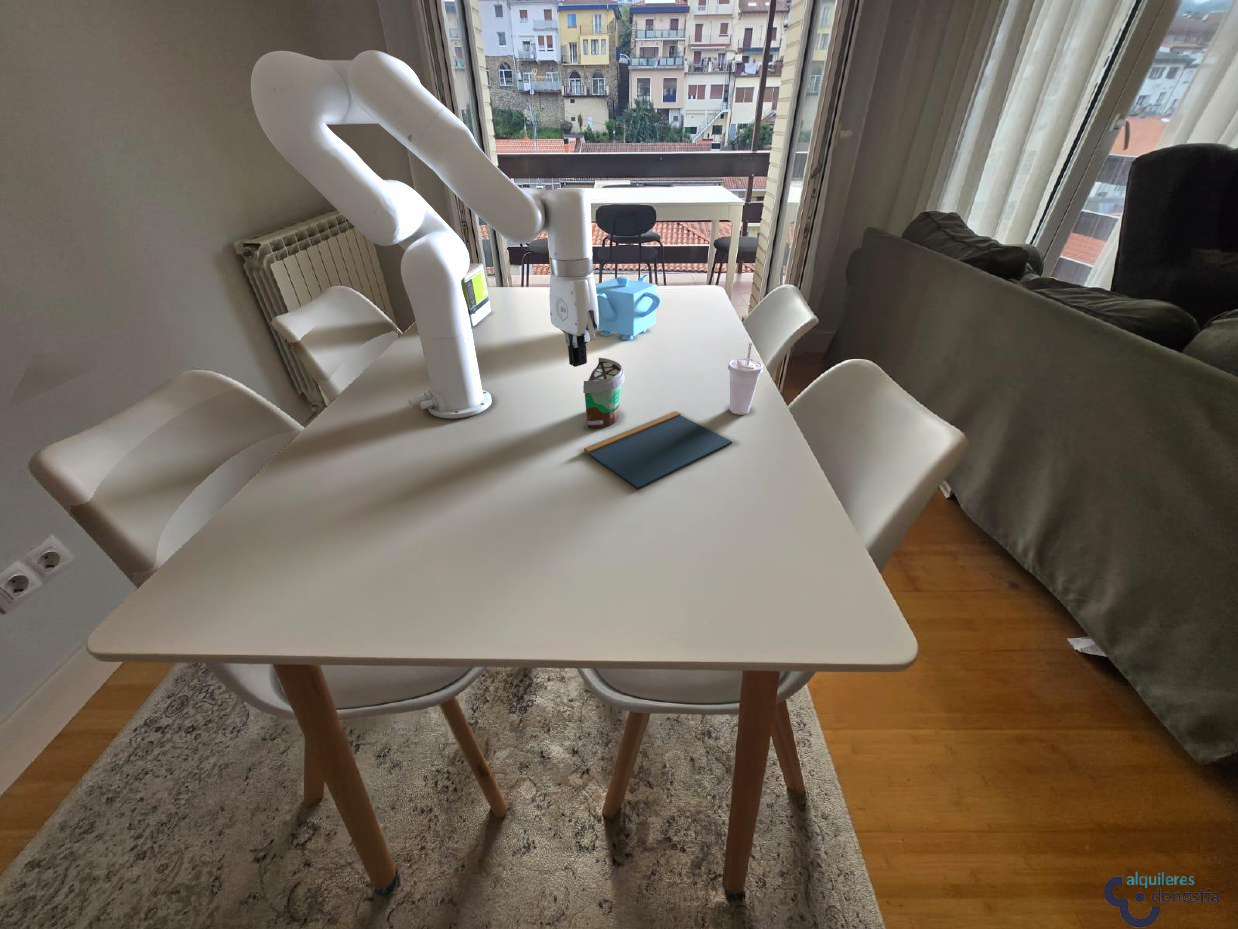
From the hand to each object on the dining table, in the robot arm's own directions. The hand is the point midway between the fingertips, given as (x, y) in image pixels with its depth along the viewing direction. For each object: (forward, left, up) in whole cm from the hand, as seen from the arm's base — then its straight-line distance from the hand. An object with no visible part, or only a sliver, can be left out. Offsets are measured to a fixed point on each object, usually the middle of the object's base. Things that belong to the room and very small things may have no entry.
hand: (578, 363), depth 101 cm
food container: (0, -10, -8) cm, 13 cm away
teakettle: (+34, +29, -8) cm, 45 cm away
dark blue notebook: (0, -25, -8) cm, 26 cm away
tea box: (+6, +68, -8) cm, 69 cm away
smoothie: (+22, -24, -8) cm, 33 cm away
